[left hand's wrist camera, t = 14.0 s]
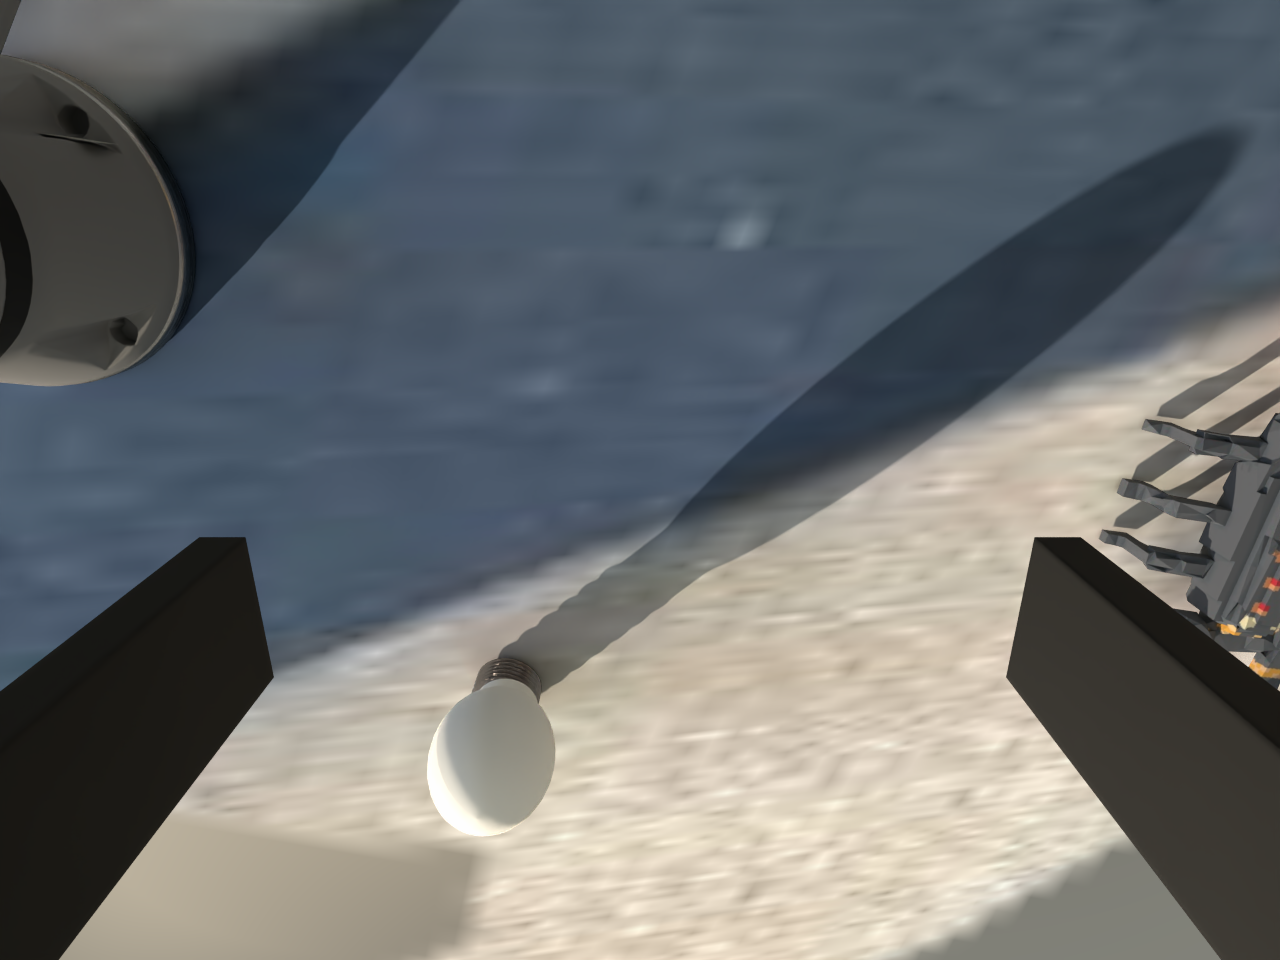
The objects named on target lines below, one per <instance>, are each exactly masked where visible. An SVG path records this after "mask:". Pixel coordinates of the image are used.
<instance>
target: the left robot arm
mask: <svg viewBox="0 0 1280 960" xmlns="http://www.w3.org/2000/svg"><path fill="white" fill-rule="evenodd" d="M20 2H21V0H0V382H3V383H14V384H25V385H36V386H63V385H71V384H81V383H88V382H93V381H96V380H100V379H104V378H107V377H110V376H113V375H116V374H119V373H121V372H124V371H126V370H129V369H132V368H133V367H135V366H137V365H139V364H141V363H143V362H144V361H146V360H147V359H149V358H150V357H152V356H153V355H154V354H155V353H157V352H158V351H159V350H160V349H161V348H162V347H163V346H164V345H165V344H166V343H167V342H168V340H169V339H170V338H171V337H172V335H173V334H174V333H175V331H176V330H177V328H178V327H179V325H180V323H181V321H182V319H183V317H184V315H185V313H186V310H187V307H188V305H189V302H190V298H191V294H192V290H193V284H194V277H195V244H194V238H193V231H192V227H191V222H190V218H189V214H188V211H187V208H186V205H185V202H184V199H183V197H182V194H181V192H180V190H179V187H178V185H177V183H176V181H175V179H174V177H173V175H172V173H171V171H170V170H169V168H168V166H167V164H166V163H165V161H164V160H163V158H162V156H161V155H160V153H159V152H158V150H157V149H156V148H155V146H154V145H153V144H152V142H151V141H150V140H149V138H148V137H147V136H146V135H145V134H144V133H143V131H142V130H141V129H140V128H139V127H138V126H137V125H136V124H135V122H134V121H133V120H131V119H130V118H129V117H128V116H127V115H126V114H125V113H124V112H123V111H122V110H121V109H120V108H119V107H117V106H116V105H115V104H114V103H113V102H111V101H110V100H109V99H108V98H106V97H105V96H104V95H102V94H101V93H99V92H98V91H96V90H95V89H94V88H92V87H90V86H89V85H87V84H85V83H84V82H82V81H80V80H78V79H77V78H75V77H73V76H70V75H68V74H66V73H64V72H62V71H60V70H57V69H54V68H52V67H49V66H46V65H44V64H40V63H36V62H32V61H29V60H24V59H20V58H15V57H11V56H6V55H1V52H2V49H3V47H4V44H5V41H6V39H7V36H8V33H9V31H10V28H11V25H12V23H13V20H14V18H15V15H16V12H17V10H18V7H19V4H20ZM273 678H274V676H273V671H272V666H271V661H270V656H269V651H268V646H267V641H266V636H265V631H264V627H263V622H262V617H261V612H260V607H259V602H258V597H257V592H256V587H255V582H254V577H253V572H252V567H251V563H250V558H249V553H248V548H247V543H246V538H245V537H199V538H198V539H197V540H195V541H194V542H193V543H191V544H190V545H189V546H188V547H186V548H185V549H184V550H182V551H181V552H180V553H178V554H177V555H176V556H175V557H173V558H172V559H171V560H169V561H168V562H167V563H166V564H164V565H163V566H162V567H160V568H159V569H158V570H157V571H155V572H154V573H153V574H151V575H150V576H149V577H147V578H146V579H145V580H144V581H142V582H141V583H140V584H138V585H137V586H136V587H135V588H133V589H132V590H131V591H129V592H128V593H127V594H126V595H124V596H123V597H122V598H120V599H119V600H118V601H116V602H115V603H114V604H113V605H111V606H110V607H109V608H107V609H106V610H105V611H104V612H102V613H101V614H100V615H98V616H97V617H96V618H95V619H93V620H92V621H91V622H89V623H88V624H87V625H85V626H84V627H83V628H82V629H80V630H79V631H78V632H76V633H75V634H74V635H73V636H71V637H70V638H69V639H67V640H66V641H65V642H64V643H62V644H61V645H60V646H58V647H57V648H56V649H54V650H53V651H52V652H51V653H49V654H48V655H47V656H45V657H44V658H43V659H42V660H40V661H39V662H38V663H36V664H35V665H34V666H33V667H31V668H30V669H29V670H27V671H26V672H25V673H23V674H22V675H21V676H20V677H18V678H17V679H16V680H14V681H13V682H12V683H11V684H9V685H8V686H7V687H5V688H4V689H3V690H2V691H0V960H59V959H60V957H61V956H62V955H63V953H64V952H65V951H66V949H67V948H68V947H69V946H70V944H71V943H72V942H73V940H74V939H75V938H76V936H77V935H78V934H79V932H80V931H81V930H82V928H83V927H84V926H85V924H86V923H87V922H88V921H89V919H90V918H91V917H92V915H93V914H94V913H95V911H96V910H97V909H98V907H99V906H100V905H101V903H102V902H103V901H104V900H105V898H106V897H107V896H108V894H109V893H110V892H111V890H112V889H113V888H114V886H115V885H116V884H117V882H118V881H119V880H120V879H121V877H122V876H123V875H124V873H125V872H126V871H127V869H128V868H129V867H130V865H131V864H132V863H133V861H134V860H135V859H136V857H137V856H138V855H139V854H140V852H141V851H142V850H143V848H144V847H145V846H146V844H147V843H148V842H149V840H150V839H151V838H152V836H153V835H154V834H155V833H156V831H157V830H158V829H159V827H160V826H161V825H162V823H163V822H164V821H165V819H166V818H167V817H168V815H169V814H170V813H171V812H172V810H173V809H174V808H175V806H176V805H177V804H178V802H179V801H180V800H181V798H182V797H183V796H184V794H185V793H186V792H187V791H188V789H189V788H190V787H191V785H192V784H193V783H194V781H195V780H196V779H197V777H198V776H199V775H200V773H201V772H202V771H203V770H204V768H205V767H206V766H207V764H208V763H209V762H210V760H211V759H212V758H213V756H214V755H215V754H216V752H217V751H218V750H219V749H220V747H221V746H222V745H223V743H224V742H225V741H226V739H227V738H228V737H229V735H230V734H231V733H232V731H233V730H234V729H235V727H236V726H237V725H238V724H239V722H240V721H241V720H242V718H243V717H244V716H245V714H246V713H247V712H248V710H249V709H250V708H251V706H252V705H253V704H254V703H255V701H256V700H257V699H258V697H259V696H260V695H261V693H262V692H263V691H264V689H265V688H266V687H267V685H268V684H269V683H270V682H271V680H272V679H273ZM1006 678H1007V679H1008V680H1009V682H1010V683H1011V684H1012V685H1013V687H1014V688H1015V689H1016V691H1017V692H1018V693H1019V695H1020V696H1021V697H1022V699H1023V700H1024V701H1025V703H1026V704H1027V705H1028V706H1029V708H1030V709H1031V710H1032V712H1033V713H1034V714H1035V716H1036V717H1037V718H1038V720H1039V721H1040V722H1041V724H1042V725H1043V726H1044V727H1045V729H1046V730H1047V731H1048V733H1049V734H1050V735H1051V737H1052V738H1053V739H1054V741H1055V742H1056V743H1057V745H1058V746H1059V747H1060V749H1061V750H1062V751H1063V752H1064V754H1065V755H1066V756H1067V758H1068V759H1069V760H1070V762H1071V763H1072V764H1073V766H1074V767H1075V768H1076V770H1077V771H1078V772H1079V773H1080V775H1081V776H1082V777H1083V779H1084V780H1085V781H1086V783H1087V784H1088V785H1089V787H1090V788H1091V789H1092V791H1093V792H1094V793H1095V794H1096V796H1097V797H1098V798H1099V800H1100V801H1101V802H1102V804H1103V805H1104V806H1105V808H1106V809H1107V810H1108V812H1109V813H1110V814H1111V815H1112V817H1113V818H1114V819H1115V821H1116V822H1117V823H1118V825H1119V826H1120V827H1121V829H1122V830H1123V831H1124V833H1125V834H1126V835H1127V837H1128V838H1129V839H1130V840H1131V842H1132V843H1133V844H1134V846H1135V847H1136V848H1137V850H1138V851H1139V852H1140V854H1141V855H1142V856H1143V857H1144V859H1145V860H1146V861H1147V863H1148V864H1149V865H1150V867H1151V868H1152V869H1153V871H1154V872H1155V873H1156V875H1157V876H1158V877H1159V879H1160V880H1161V881H1162V882H1163V884H1164V885H1165V886H1166V888H1167V889H1168V890H1169V892H1170V893H1171V894H1172V896H1173V897H1174V898H1175V900H1176V901H1177V902H1178V903H1179V905H1180V906H1181V907H1182V909H1183V910H1184V911H1185V913H1186V914H1187V915H1188V917H1189V918H1190V919H1191V921H1192V922H1193V923H1194V925H1195V926H1196V927H1197V928H1198V930H1199V931H1200V932H1201V934H1202V935H1203V936H1204V938H1205V939H1206V940H1207V942H1208V943H1209V944H1210V945H1211V947H1212V948H1213V949H1214V951H1215V952H1216V953H1217V955H1218V956H1219V957H1220V959H1221V960H1280V691H1278V690H1277V689H1276V688H1275V687H1273V686H1272V685H1271V684H1269V683H1268V682H1267V681H1266V680H1264V679H1263V678H1262V677H1260V676H1259V675H1258V674H1257V673H1255V672H1254V671H1253V670H1251V669H1250V668H1249V667H1247V666H1246V665H1245V664H1244V663H1242V662H1241V661H1240V660H1238V659H1237V658H1236V657H1235V656H1233V655H1232V654H1231V653H1229V652H1228V651H1227V650H1226V649H1224V648H1223V647H1222V646H1220V645H1219V644H1218V643H1216V642H1215V641H1214V640H1213V639H1211V638H1210V637H1209V636H1207V635H1206V634H1205V633H1204V632H1202V631H1201V630H1200V629H1198V628H1197V627H1196V626H1195V625H1193V624H1192V623H1191V622H1189V621H1188V620H1187V619H1185V618H1184V617H1183V616H1182V615H1180V614H1179V613H1178V612H1176V611H1175V610H1174V609H1173V608H1171V607H1170V606H1169V605H1167V604H1166V603H1165V602H1164V601H1162V600H1161V599H1160V598H1158V597H1157V596H1156V595H1154V594H1153V593H1152V592H1151V591H1149V590H1148V589H1147V588H1145V587H1144V586H1143V585H1142V584H1140V583H1139V582H1138V581H1136V580H1135V579H1134V578H1133V577H1131V576H1130V575H1129V574H1127V573H1126V572H1125V571H1123V570H1122V569H1121V568H1120V567H1118V566H1117V565H1116V564H1114V563H1113V562H1112V561H1111V560H1109V559H1108V558H1107V557H1105V556H1104V555H1103V554H1102V553H1100V552H1099V551H1098V550H1096V549H1095V548H1094V547H1092V546H1091V545H1090V544H1089V543H1087V542H1086V541H1085V540H1083V539H1082V538H1081V537H1035V538H1034V543H1033V548H1032V553H1031V558H1030V563H1029V567H1028V572H1027V577H1026V582H1025V587H1024V592H1023V597H1022V602H1021V607H1020V612H1019V617H1018V622H1017V627H1016V631H1015V636H1014V641H1013V646H1012V651H1011V656H1010V661H1009V666H1008V671H1007V676H1006Z"/></svg>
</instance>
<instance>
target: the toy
mask: <svg viewBox="0 0 1280 960" xmlns="http://www.w3.org/2000/svg"><path fill="white" fill-rule="evenodd" d="M1142 430H1146V431H1149V432H1153V433H1157V434H1160V435H1165V436H1168V437H1170V438H1173V439H1175V440H1177V441H1179V442H1182V443H1184V444H1186V445H1188V446H1190V448H1189V451H1191V452H1193V453H1195V454H1201V455H1210V456H1218V457H1220V458H1221V459H1231V460H1241V461H1239V462H1237V463H1235V464H1234V466H1233V468H1232V470H1231V472H1230V474H1229V476H1228V478H1227V480H1226V482H1225V484H1224V486H1223V490H1224V493H1223V495H1222V496H1221V498H1220V499H1219V501H1218V503H1217V504H1216V505H1215V504H1212V503H1209V502H1203V501H1198V500H1192V499H1187V498H1181V497H1176V496H1171V495H1168V494H1166V493H1164V492H1163V491H1161V490H1159V489H1158V488H1156V487H1154V486H1153V485H1150V484H1148V483H1146V482H1143V481H1138V480H1131V479H1123V478H1122V481H1121V483H1120V486H1119V489H1118V491H1117V493H1118V494H1120V495H1121V496H1123V497H1128V498H1132V499H1137V500H1141V501H1144V502H1147V503H1149V504H1152V505H1153V506H1155V507H1157V508H1158V509H1160V510H1162V511H1163V512H1165V513H1167V514H1169V515H1171V516H1174V517H1176V518H1182V519H1189V520H1196V521H1203V522H1207V524H1206V527H1205V529H1204V531H1203V533H1202V536H1201V538H1200V540H1199V542H1200V543H1202V544H1203V547H1202V549H1201V552H1200V554H1195V553H1185V552H1178V551H1175V550H1171V549H1166V548H1161V547H1156V546H1150V545H1149V546H1147V545H1145V544H1143V543H1142V542H1140V541H1138V540H1137V539H1135V538H1134V537H1132V536H1130V535H1129V534H1127V533H1123V532H1116V531H1108V530H1102V532H1101V535H1100V537H1099V539H1100V540H1101V541H1103V542H1104V543H1107V544H1112V545H1116V546H1120V547H1123V548H1124V549H1126V550H1127V551H1128V552H1130V553H1131V554H1133V555H1134V556H1136V557H1137V558H1138V559H1140V560H1141V561H1143V563H1144V565H1145V566H1146V567H1147V569H1151V570H1156V571H1161V572H1166V573H1172V574H1178V575H1183V576H1189V577H1192V580H1191V583H1192V584H1191V586H1190V587H1189V589H1188V591H1187V593H1186V596H1187V600H1188V602H1190V603H1191V604H1192V605H1194V606H1195V607H1196V608H1198V609H1199V610H1200V612H1199V614H1198V613H1197V612H1192V611H1186V610H1179V609H1174V610H1175V611H1176V612H1178V613H1179V614H1180V615H1182V616H1183V617H1184V618H1185V619H1187V620H1188V621H1189V622H1191V623H1192V624H1193V625H1195V626H1196V627H1197V628H1198V629H1200V630H1201V631H1202V632H1204V633H1205V634H1206V635H1207V636H1209V637H1210V638H1211V639H1213V640H1214V641H1215V642H1216V643H1218V644H1219V645H1220V646H1222V647H1223V648H1224V649H1226V650H1227V651H1228V652H1229V651H1233V652H1257V653H1256V655H1255V656H1254V658H1253V660H1252V662H1251V664H1250V665H1249V668H1250V669H1251V670H1253V671H1254V672H1255V673H1257V674H1258V675H1259V676H1260V677H1262V678H1263V679H1264V680H1266V681H1267V682H1268V683H1269V684H1271V685H1272V686H1273V687H1275V688H1276V689H1278V687H1279V684H1280V413H1275V415H1274V416H1273V418H1272V420H1271V421H1270V423H1269V424H1268V426H1267V427H1266V429H1265V430H1264V432H1263V433H1262V435H1261V436H1260V437H1249V436H1238V435H1225V434H1219V433H1214V432H1209V431H1204V430H1199V429H1197V432H1194V431H1191V430H1188V429H1185V428H1182V427H1180V426H1178V425H1175V424H1173V423H1169V422H1162V421H1155V420H1148V419H1145V422H1144V425H1143V427H1142Z"/></svg>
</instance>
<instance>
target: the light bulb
mask: <svg viewBox="0 0 1280 960" xmlns="http://www.w3.org/2000/svg"><path fill="white" fill-rule="evenodd" d="M540 694H541V682H540V679H539V677H538V675H537V674H536V673H535V671H534V670H533V669H532V668H530V667H529V666H528V665H526V664H524V663H522V662H520V661H517V660H514V659H507V658H501V659H495V660H492V661H490V662H488V663H486V664H485V665H484V666H483V667H482V668H481V669H480V671H479V673H478V676H477V678H476V681H475V684H474V687H473V690H472V693H471V694H470V695H468V696H467V697H465V698H464V699H462V700H461V701H459V702H458V703H457V704H456V705H455V706H454V707H453V708H452V709H451V710H450V711H449V712H448V714H447V715H446V716H445V717H444V719H443V720H442V722H441V724H440V725H439V727H438V729H437V731H436V733H435V735H434V738H433V741H432V744H431V747H430V751H429V755H428V769H427V778H428V784H429V789H430V793H431V797H432V799H433V802H434V804H435V806H436V807H437V809H438V811H439V812H440V814H441V815H442V817H443V818H444V819H445V820H446V821H447V822H448V823H449V824H451V825H452V826H454V827H455V828H457V829H458V830H460V831H462V832H464V833H466V834H470V835H474V836H490V835H496V834H501V833H503V832H506V831H509V830H510V829H512V828H514V827H515V826H517V825H518V824H520V823H521V822H523V821H524V820H525V819H526V818H527V817H528V816H529V815H530V814H531V813H532V812H533V811H534V810H535V808H536V807H537V806H538V804H539V803H540V802H541V800H542V798H543V796H544V795H545V793H546V791H547V788H548V786H549V784H550V781H551V778H552V774H553V770H554V763H555V740H554V735H553V730H552V727H551V724H550V721H549V720H548V718H547V716H546V714H545V712H544V711H543V709H542V707H541V706H540V705H539V699H540Z"/></svg>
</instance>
